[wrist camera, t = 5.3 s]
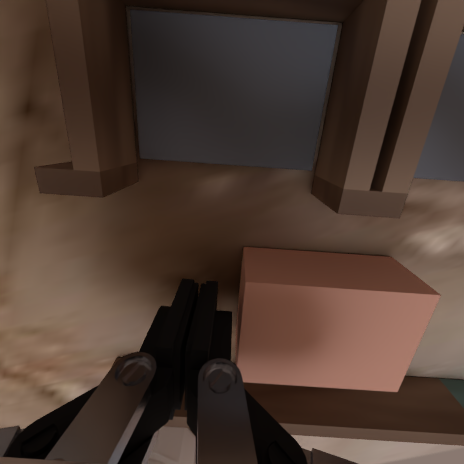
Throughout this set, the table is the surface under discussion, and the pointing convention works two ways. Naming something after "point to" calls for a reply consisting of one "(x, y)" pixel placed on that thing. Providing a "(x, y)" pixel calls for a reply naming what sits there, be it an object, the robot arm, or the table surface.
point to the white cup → (173, 447)
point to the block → (329, 319)
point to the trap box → (277, 135)
